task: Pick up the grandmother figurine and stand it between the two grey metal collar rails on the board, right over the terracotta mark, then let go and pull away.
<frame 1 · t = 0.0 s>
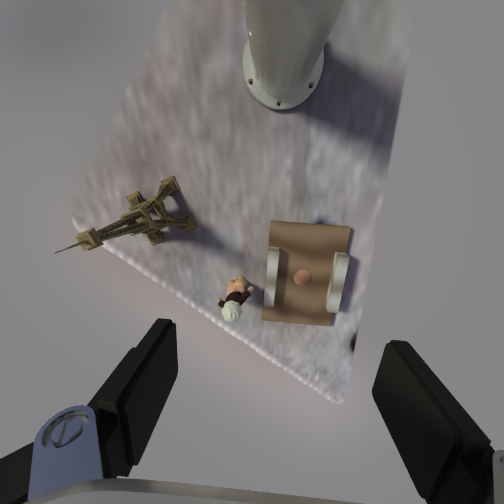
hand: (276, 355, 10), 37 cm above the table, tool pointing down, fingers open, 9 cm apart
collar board: (301, 275, 49), on the table
grandmother figurine: (239, 282, 50), on the table
eiffel tower: (163, 211, 47), on the table
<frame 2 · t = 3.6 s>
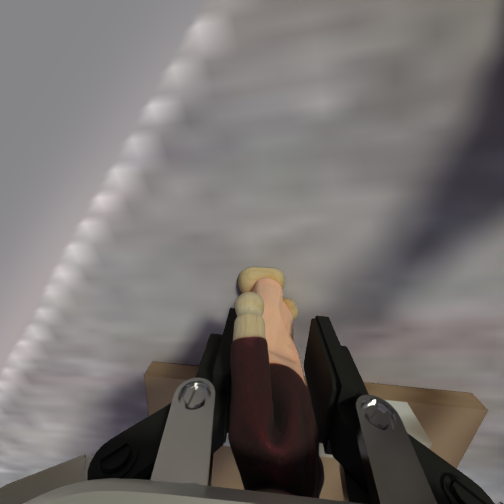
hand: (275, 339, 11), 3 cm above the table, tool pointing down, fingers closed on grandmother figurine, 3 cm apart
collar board: (295, 449, 19), on the table
grandmother figurine: (271, 302, 15), on the table, touching gripper
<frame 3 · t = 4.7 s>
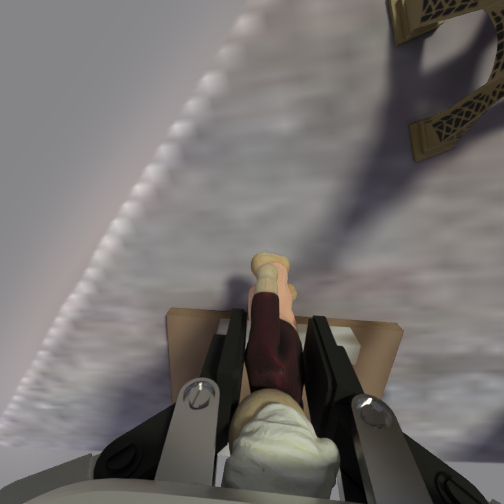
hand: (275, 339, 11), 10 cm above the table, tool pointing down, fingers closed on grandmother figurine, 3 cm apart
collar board: (276, 374, 25), on the table
grandmother figurine: (275, 285, 17), point 4 cm above the table, touching gripper
eiffel tower: (478, 55, 16), on the table
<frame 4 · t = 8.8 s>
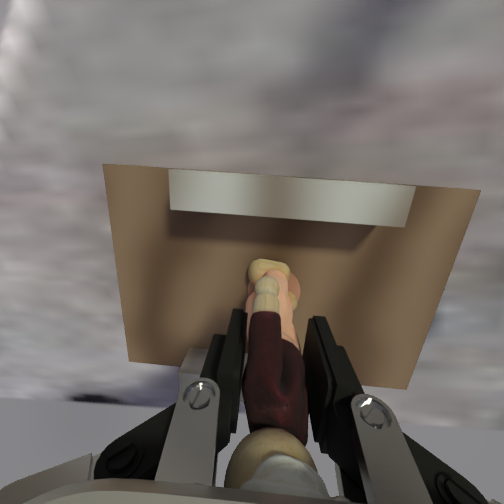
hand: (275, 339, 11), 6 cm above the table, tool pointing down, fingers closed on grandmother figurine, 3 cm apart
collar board: (273, 283, 17), on the table
grandmother figurine: (274, 293, 16), point 1 cm above the table, touching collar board, gripper
when the fingers open (6 cm above the table, at t = 9.1 s): grandmother figurine stays where it is, resting on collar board.
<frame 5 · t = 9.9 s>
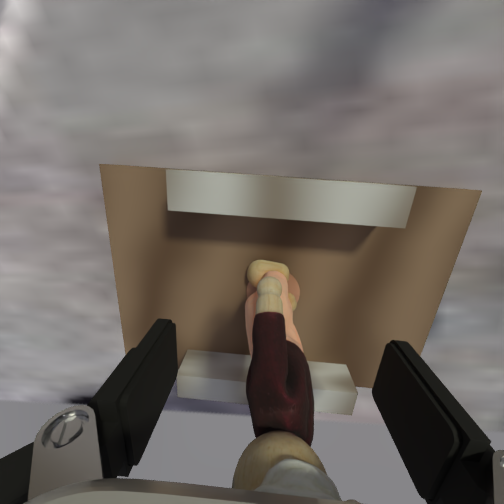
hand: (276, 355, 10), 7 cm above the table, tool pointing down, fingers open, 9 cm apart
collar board: (272, 284, 17), on the table
grandmother figurine: (273, 294, 16), point 1 cm above the table, touching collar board
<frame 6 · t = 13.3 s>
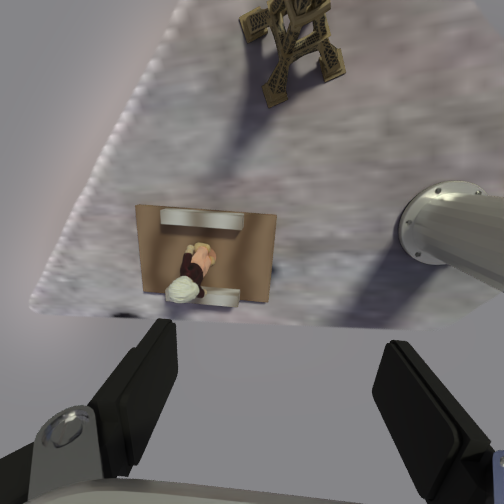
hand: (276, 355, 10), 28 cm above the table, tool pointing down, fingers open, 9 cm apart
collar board: (207, 254, 39), on the table
grandmother figurine: (205, 257, 38), point 1 cm above the table, touching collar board
eiffel tower: (293, 47, 30), on the table
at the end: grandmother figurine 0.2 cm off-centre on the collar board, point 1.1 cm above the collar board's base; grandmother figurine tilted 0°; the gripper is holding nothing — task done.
